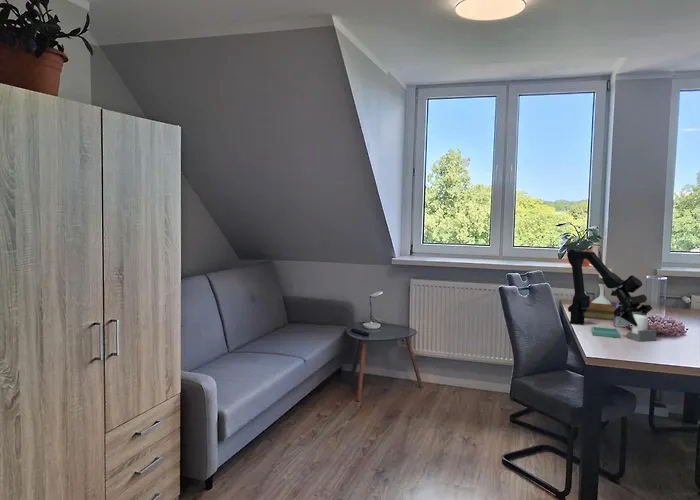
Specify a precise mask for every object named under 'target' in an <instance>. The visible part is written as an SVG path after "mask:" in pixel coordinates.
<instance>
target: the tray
mask: <svg viewBox="0 0 700 500" xmlns="http://www.w3.org/2000/svg"><path fill="white" fill-rule="evenodd" d="M591 334H592V336H593V337H594V336H595V337H605V338H615V339H620V332H619V330H618V328H610V327H609V328H608V327H600V326H591Z"/></svg>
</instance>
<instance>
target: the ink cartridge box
mask: <svg viewBox="0 0 700 500" xmlns="http://www.w3.org/2000/svg"><path fill="white" fill-rule="evenodd" d="M619 303H620V302H613V305H614V310H615V309H616V308H617V307H618V306H622V305H619ZM634 313H635V312H632V315H634ZM620 314H621V313H620ZM612 321H613V322H612V325H613V326H614V327H615V328H616V327H619V328H627V327H626V326H628V325H630V324H631V323H630V322H628V321H627V320H625V319H623V318H620V317H615V315H614V317H613V320H612Z"/></svg>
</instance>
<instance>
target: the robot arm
mask: <svg viewBox="0 0 700 500" xmlns="http://www.w3.org/2000/svg"><path fill="white" fill-rule="evenodd" d="M566 256H567V261H568V263H569V265H570V266H571V270H572V279H573V288H574V290H573V291H574V295H573V298H572V304H570V305H569V306H568V307H567V310H568V312H569V313H570V319H569V324H573V325H582V326H583V325H584V324H585V315H584V312H586V310H587V308H588V307H589V306H590V303H591V298H590V297H591V296H590V295H587V294H586V292H585V291H586V290H585V285H584V274H583V273H584V272H583V263H584V261H585V260H587V261H588V262H589V264H591V266H592V267H593V268H594V269H595V270H596V271H597V273H598V275H599V274H600V275H601V276H602V278H601V279H602V281H603V282H604V283H603V282H602V283H603V284H605V285H606V287H605V288H608V289H612V290H611V292H610V296H613V297H616V298H617V299H618V301H619V302H618V303H619V305H622V306H618V307H617V308H616V309H615V310H614V315H615V317H620V318H623V319H625V320H627V321H628V322H630V323H631V324H633V325H634V326H637V323H636V321H635V319H634V317H633V315H632V312H639V313H646V314H647V315H648V313H649V312H651V311H652V310H653V307H652V306H651V304H642V303H646V302H647V301H648V297H647V295H645V294H639V295H635V296H631V294H630V293H632V294H634V293H635V292H636V291H638V290H639V289H640V288H641V287H642V286H643V281H642V280H641V279H639V278H637V277H636V276H635V275H629V276H628V277H627V278H626V279H624V280H623V279H622V277H620V276H619V275H617V274H616V273H614V272H613V271H610V270H609V269H610V268H609V267H607V266H606V265H605V263H604V262H603V261H602V260H601V259H600V258H599V256H598V255H597V254H596V252H594V251H584V250H582V249H575V248H574V249H570V250H568V252H567V254H566ZM608 268H609V269H608ZM641 304H642V305H641ZM620 313H621V314H620Z"/></svg>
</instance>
